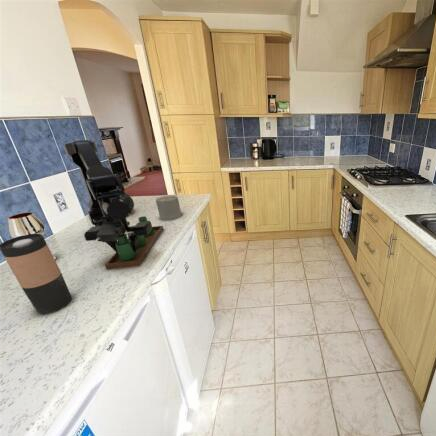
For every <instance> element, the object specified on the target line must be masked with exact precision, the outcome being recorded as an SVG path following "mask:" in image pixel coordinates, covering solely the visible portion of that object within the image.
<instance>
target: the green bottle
mask: <svg viewBox="0 0 436 436" xmlns="http://www.w3.org/2000/svg"><path fill="white" fill-rule="evenodd" d="M115 246H116V249H117V252H118V255H119V257H120V260H123V261H125V260H130V259H132V258H134V257H135V256H136V255H137V254H136V252H134V251H133V248H132V244H131V240H130V239H129V238H128V235H127V233H125V234H124V235H120V236H119V239H118V240H117V242H116V243H115Z"/></svg>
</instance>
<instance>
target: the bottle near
mask: <svg viewBox="0 0 436 436" xmlns="http://www.w3.org/2000/svg"><path fill="white" fill-rule="evenodd" d="M137 219H138V222H148V221H149V222H150V223H151V224H152V222H151V220H148V219H147V216H146V215H142V216H139V217H138V218H137ZM153 234H154V232H153V228H152V229H151V230H150V232H149V233H148V234H147V235H144V238H146V237H150V236H152V235H153Z"/></svg>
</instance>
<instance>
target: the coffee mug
mask: <svg viewBox="0 0 436 436" xmlns="http://www.w3.org/2000/svg"><path fill="white" fill-rule="evenodd" d="M155 203H156V208H157V211H158V216H159V218H160V220H161V221H172V220H176V219H179V218H181V216H182V210H181V206H180V201H179V197H178V195H176V194H165V195H160V196H158V197H156V198H155Z"/></svg>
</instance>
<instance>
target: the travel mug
mask: <svg viewBox="0 0 436 436" xmlns="http://www.w3.org/2000/svg"><path fill="white" fill-rule="evenodd" d="M0 252H1V254H2V255H3V257H4V259H5V261H6V263H7V264H8V266H9V268H10V270H11V272H12V273H13V276H14V277H15V279H16V280H17V283H18V284H19V286H20V287H21V290H22V291H23V292H24V294H25V296H26V297H27V298H28V300H29V301H30V303H31V305H32V307H33V308H34V309H35V311H36V312H37V313H38V314H40V315H48V314H52V313H55V312H57V311H59V310H62V309H63V308H65V307H66V306H68V305H69V304H70V303H71V301H72V298H73V297H72V295H71V292H70V290H69V287H68V285H67V283H66V281H65V278H64V276H63V274H62V272H61V269H60V268H59V265H58V263H57V262H56V260H55V259H54V257H55V256H54V255H53V253H52V251H51V250H50V247H49V245H48V243H47V241H46V239H45V238H44V235H43V236H42V235H41V234H28V235H23V236H19V237H16V238H13V237H12V238H10V239H7V240H6V241H2V243H0Z"/></svg>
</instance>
